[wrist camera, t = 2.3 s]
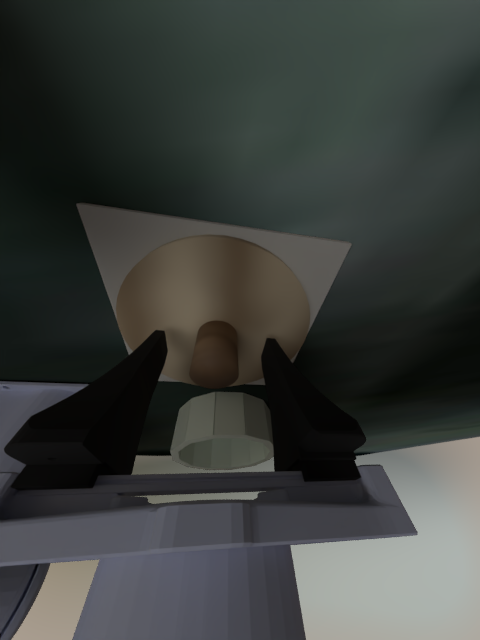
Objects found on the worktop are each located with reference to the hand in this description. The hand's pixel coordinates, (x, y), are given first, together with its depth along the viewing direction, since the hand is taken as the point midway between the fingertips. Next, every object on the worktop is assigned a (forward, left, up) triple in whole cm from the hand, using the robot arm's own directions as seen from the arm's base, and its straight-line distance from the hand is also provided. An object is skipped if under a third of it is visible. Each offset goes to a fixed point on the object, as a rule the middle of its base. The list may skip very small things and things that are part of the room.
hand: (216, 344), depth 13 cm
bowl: (+2, -16, -2) cm, 16 cm away
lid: (0, 0, -2) cm, 2 cm away
